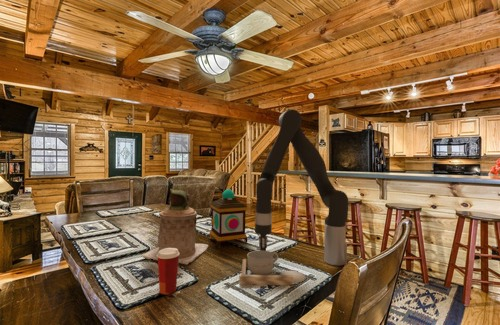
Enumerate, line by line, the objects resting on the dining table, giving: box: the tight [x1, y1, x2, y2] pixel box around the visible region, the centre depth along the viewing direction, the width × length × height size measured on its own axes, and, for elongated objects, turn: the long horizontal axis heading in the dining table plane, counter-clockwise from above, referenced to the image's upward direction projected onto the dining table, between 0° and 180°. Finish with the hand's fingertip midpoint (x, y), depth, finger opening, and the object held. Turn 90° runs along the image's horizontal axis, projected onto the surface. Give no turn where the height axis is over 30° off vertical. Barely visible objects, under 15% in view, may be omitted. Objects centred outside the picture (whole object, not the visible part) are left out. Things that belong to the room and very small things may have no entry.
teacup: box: [246, 249, 279, 275], centre depth 105 cm, size 14×11×8 cm
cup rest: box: [238, 258, 294, 286], centre depth 103 cm, size 20×17×3 cm
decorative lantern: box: [208, 188, 248, 248], centre depth 145 cm, size 20×20×30 cm
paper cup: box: [156, 248, 180, 296], centre depth 89 cm, size 8×8×14 cm
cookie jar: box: [141, 188, 209, 265], centre depth 125 cm, size 25×25×32 cm
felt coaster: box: [279, 270, 306, 284], centre depth 101 cm, size 10×10×1 cm
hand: (262, 260), depth 114 cm, fingers closed
